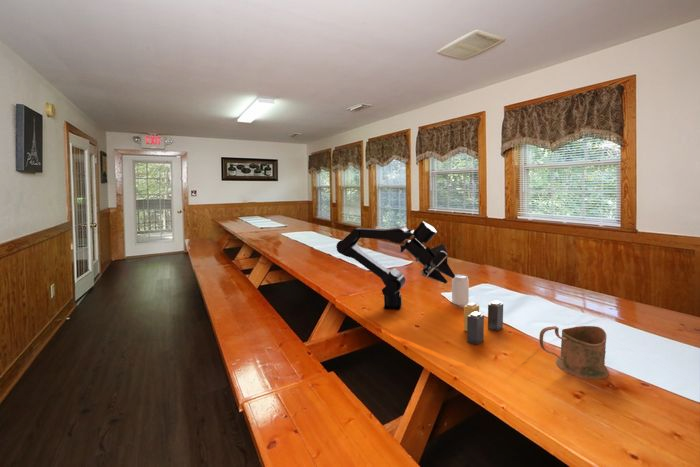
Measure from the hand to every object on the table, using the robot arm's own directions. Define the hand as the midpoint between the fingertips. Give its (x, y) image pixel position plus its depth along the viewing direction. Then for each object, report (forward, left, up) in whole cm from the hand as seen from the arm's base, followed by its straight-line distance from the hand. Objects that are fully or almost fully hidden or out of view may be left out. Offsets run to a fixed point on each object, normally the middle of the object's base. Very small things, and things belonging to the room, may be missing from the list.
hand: (450, 280), depth 127 cm
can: (+4, +11, -14) cm, 18 cm away
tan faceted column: (+6, -15, -12) cm, 20 cm away
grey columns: (+6, -15, -13) cm, 21 cm away
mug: (+29, -33, -14) cm, 46 cm away
